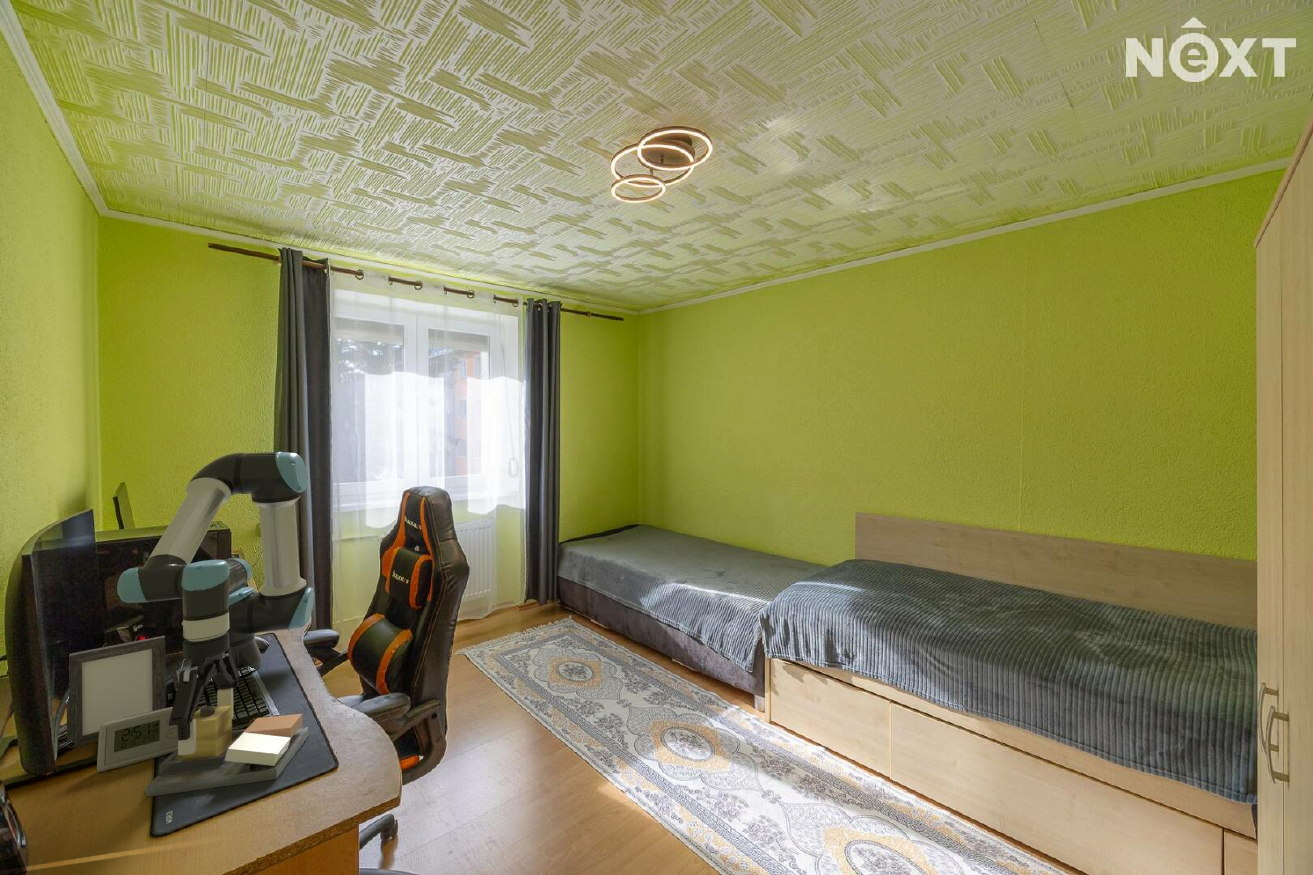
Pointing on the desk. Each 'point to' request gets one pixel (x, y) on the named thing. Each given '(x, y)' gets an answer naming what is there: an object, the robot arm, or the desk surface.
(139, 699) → the picture frame
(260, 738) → the rocker plain
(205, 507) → the robot arm
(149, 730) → the digital clock
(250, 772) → the panel
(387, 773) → the desk surface
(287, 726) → the orange tan rectangular block
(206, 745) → the tan wooden block
